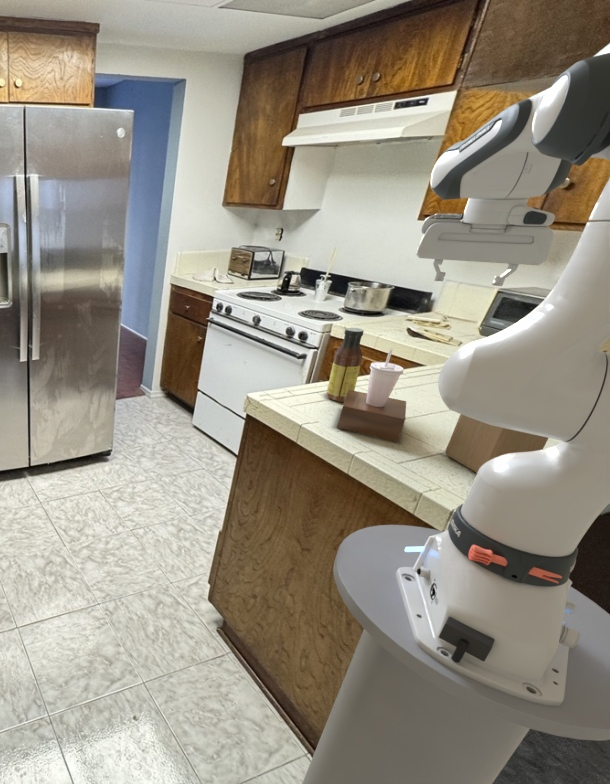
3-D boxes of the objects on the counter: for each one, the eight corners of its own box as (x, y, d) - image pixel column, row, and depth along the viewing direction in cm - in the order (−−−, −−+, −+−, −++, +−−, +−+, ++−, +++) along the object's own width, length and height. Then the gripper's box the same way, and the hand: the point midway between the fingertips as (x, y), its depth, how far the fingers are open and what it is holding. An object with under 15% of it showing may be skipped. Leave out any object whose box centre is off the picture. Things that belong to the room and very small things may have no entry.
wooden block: (484, 451, 104) (521, 368, 95) (531, 477, 95) (577, 387, 86) (441, 454, 103) (475, 369, 95) (485, 480, 94) (527, 389, 86)
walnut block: (397, 442, 108) (405, 419, 106) (336, 427, 115) (342, 405, 112) (398, 422, 117) (406, 401, 114) (342, 410, 123) (348, 389, 121)
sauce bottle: (352, 397, 131) (372, 328, 123) (350, 405, 126) (371, 334, 118) (325, 391, 134) (343, 324, 126) (322, 399, 130) (341, 330, 122)
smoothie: (353, 400, 115) (369, 346, 109) (371, 396, 117) (388, 343, 111) (379, 411, 109) (397, 354, 104) (397, 406, 111) (417, 351, 106)
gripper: (426, 213, 98) (405, 280, 103) (567, 216, 86) (535, 291, 92) (426, 212, 102) (406, 276, 108) (560, 214, 91) (530, 285, 96)
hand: (466, 283), depth 100 cm, fingers open, 8 cm apart
